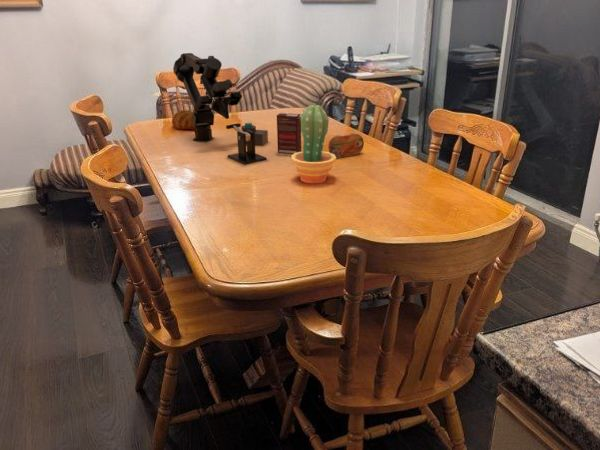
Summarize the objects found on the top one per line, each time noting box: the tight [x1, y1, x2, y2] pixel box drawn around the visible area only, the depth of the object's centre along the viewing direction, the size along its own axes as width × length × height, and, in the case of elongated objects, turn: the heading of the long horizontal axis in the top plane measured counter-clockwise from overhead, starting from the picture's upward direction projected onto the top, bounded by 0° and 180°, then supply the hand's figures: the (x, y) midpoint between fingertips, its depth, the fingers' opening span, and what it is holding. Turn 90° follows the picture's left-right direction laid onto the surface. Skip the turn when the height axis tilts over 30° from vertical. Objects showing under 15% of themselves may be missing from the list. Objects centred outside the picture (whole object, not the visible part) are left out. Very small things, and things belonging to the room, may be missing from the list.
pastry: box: [171, 109, 195, 130], centre depth 249 cm, size 21×13×8 cm, turn 33°
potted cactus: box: [290, 104, 337, 184], centre depth 176 cm, size 15×15×25 cm
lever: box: [225, 122, 251, 141], centre depth 201 cm, size 11×6×2 cm, turn 38°
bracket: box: [227, 130, 268, 166], centre depth 200 cm, size 12×10×11 cm
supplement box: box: [276, 112, 302, 157], centre depth 205 cm, size 9×5×16 cm, turn 71°
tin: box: [327, 133, 365, 159], centre depth 205 cm, size 15×3×8 cm, turn 118°
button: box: [244, 122, 253, 128], centre depth 221 cm, size 3×3×2 cm
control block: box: [240, 124, 269, 147], centre depth 222 cm, size 10×7×7 cm
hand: (227, 118), depth 206 cm, fingers closed
